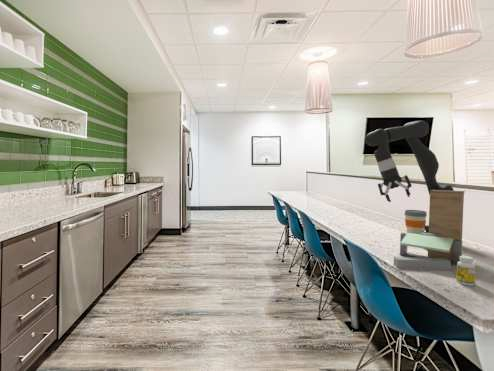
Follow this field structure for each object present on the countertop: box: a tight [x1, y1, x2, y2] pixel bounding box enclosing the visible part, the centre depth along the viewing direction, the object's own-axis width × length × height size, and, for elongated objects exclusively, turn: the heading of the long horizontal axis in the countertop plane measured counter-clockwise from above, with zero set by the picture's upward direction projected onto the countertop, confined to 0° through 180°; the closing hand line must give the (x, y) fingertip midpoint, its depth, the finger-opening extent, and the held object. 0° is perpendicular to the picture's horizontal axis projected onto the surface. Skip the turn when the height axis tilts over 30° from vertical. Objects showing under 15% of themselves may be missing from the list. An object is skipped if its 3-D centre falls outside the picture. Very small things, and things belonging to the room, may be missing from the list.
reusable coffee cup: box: [404, 209, 428, 234], centre depth 186 cm, size 13×13×15 cm
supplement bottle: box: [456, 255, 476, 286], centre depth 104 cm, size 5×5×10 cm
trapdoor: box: [401, 232, 453, 253], centre depth 127 cm, size 14×18×1 cm
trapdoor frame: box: [399, 232, 463, 266], centre depth 132 cm, size 3×24×10 cm, turn 47°
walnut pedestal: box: [427, 190, 465, 261], centre depth 133 cm, size 8×12×32 cm
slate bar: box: [393, 256, 452, 271], centre depth 121 cm, size 4×21×4 cm
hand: (399, 199), depth 140 cm, fingers open, 8 cm apart
